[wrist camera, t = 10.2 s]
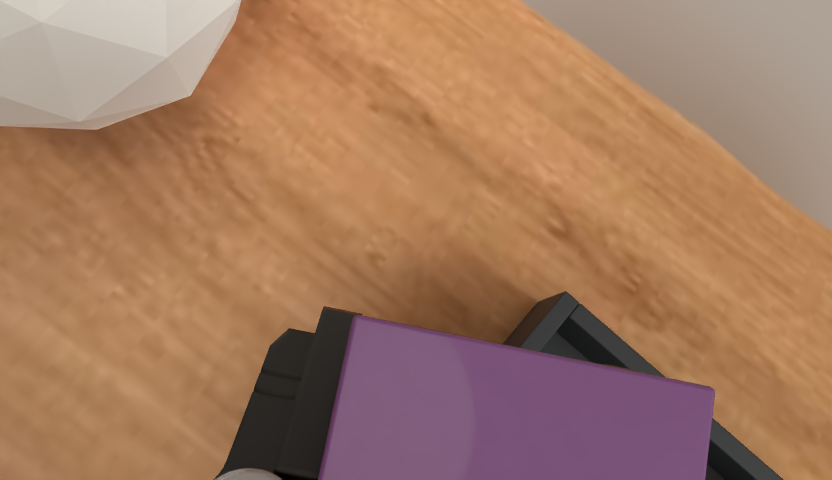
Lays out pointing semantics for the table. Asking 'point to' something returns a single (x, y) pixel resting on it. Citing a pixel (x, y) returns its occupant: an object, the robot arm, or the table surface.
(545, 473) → the plum block
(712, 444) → the tray
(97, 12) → the geodesic sphere
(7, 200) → the table surface
